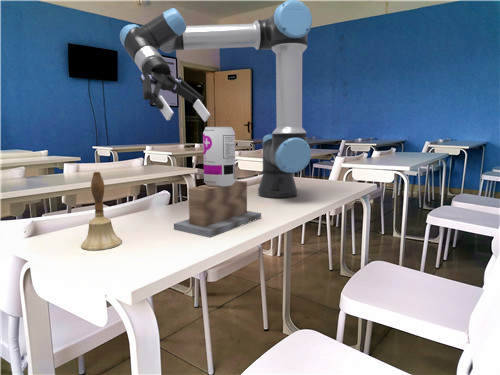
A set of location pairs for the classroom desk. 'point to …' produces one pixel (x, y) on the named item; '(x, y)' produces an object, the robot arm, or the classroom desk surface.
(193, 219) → the stand
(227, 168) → the supplement can
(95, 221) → the hand bell
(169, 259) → the classroom desk surface
